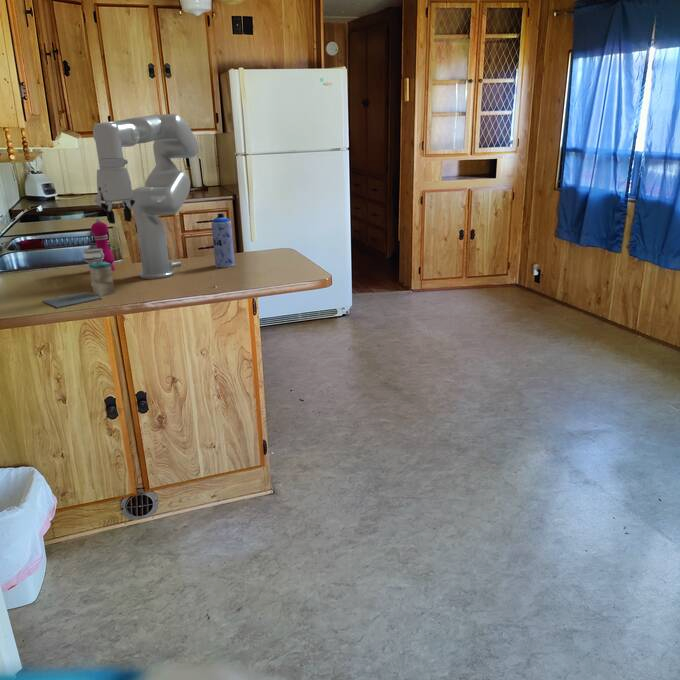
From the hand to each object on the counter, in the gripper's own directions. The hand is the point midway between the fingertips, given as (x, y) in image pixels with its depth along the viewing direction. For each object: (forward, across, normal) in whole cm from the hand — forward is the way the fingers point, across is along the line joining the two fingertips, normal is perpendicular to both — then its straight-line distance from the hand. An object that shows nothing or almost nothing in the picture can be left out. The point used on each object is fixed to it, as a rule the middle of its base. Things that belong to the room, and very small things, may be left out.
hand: (120, 221), depth 198 cm
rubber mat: (+22, +20, 0) cm, 30 cm away
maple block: (+22, +9, 0) cm, 24 cm away
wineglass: (+23, +4, -16) cm, 28 cm away
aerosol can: (+23, -42, -5) cm, 48 cm away
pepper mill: (+23, -8, -36) cm, 43 cm away
